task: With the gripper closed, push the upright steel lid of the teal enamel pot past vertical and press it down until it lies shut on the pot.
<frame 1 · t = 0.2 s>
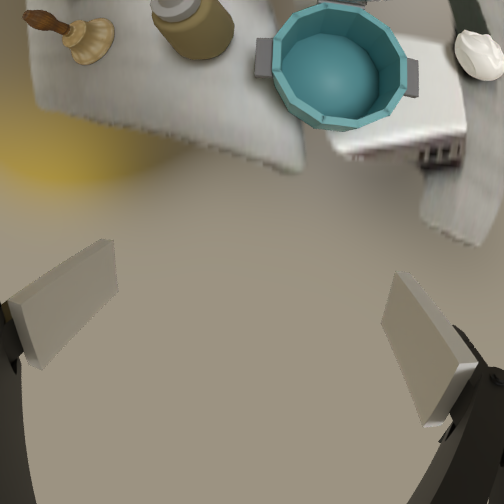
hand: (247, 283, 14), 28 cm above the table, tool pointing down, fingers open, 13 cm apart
white swirled ball: (466, 60, 30), on the table
pot: (330, 78, 34), on the table
hand bell: (93, 41, 35), on the table
squeeze bottle: (209, 40, 34), on the table
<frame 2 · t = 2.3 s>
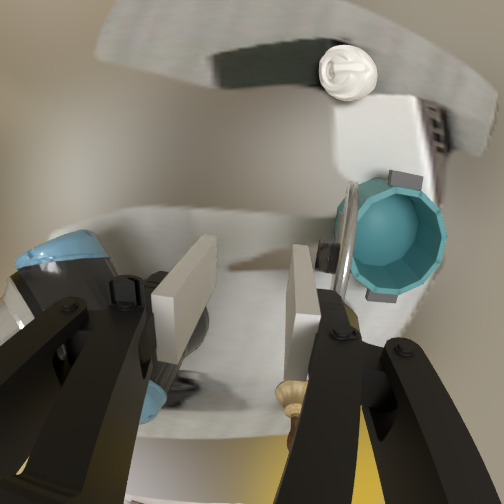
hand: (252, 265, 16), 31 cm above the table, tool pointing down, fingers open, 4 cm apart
white swirled ball: (343, 79, 38), on the table
pot: (379, 225, 44), on the table
hand bell: (296, 391, 57), on the table
lid: (331, 256, 30), point 17 cm above the table, hinge at 100.0°
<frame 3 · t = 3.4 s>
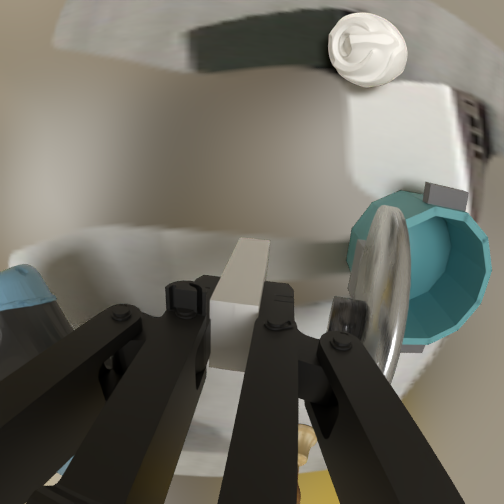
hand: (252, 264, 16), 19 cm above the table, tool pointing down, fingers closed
white swirled ball: (359, 60, 27), on the table
pot: (403, 251, 34), on the table
hand bell: (294, 436, 46), on the table
lid: (351, 320, 19), point 17 cm above the table, hinge at 100.0°
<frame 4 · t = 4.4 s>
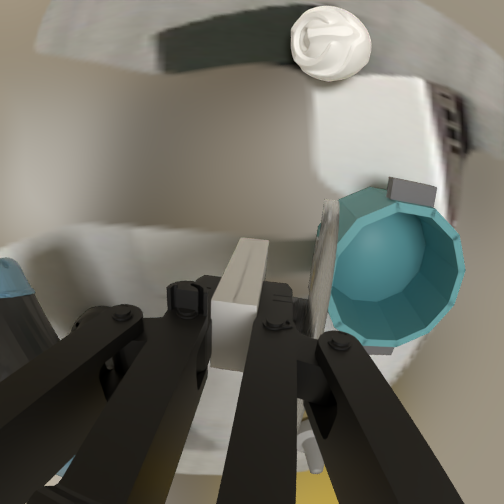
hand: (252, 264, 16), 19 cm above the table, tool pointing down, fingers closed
white swirled ball: (325, 54, 27), on the table
pot: (374, 249, 34), on the table
lid: (295, 319, 19), point 17 cm above the table, hinge at 98.4°, touching gripper
squeeze bottle: (309, 356, 40), on the table
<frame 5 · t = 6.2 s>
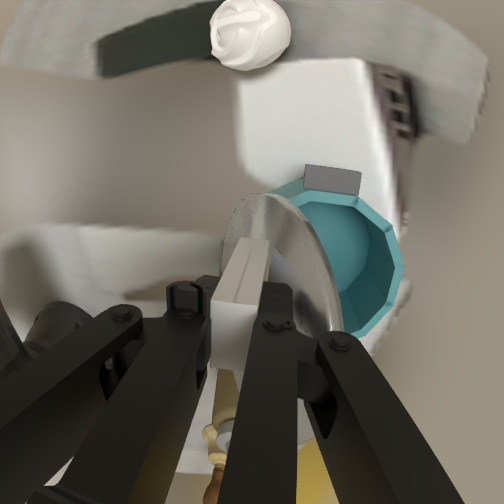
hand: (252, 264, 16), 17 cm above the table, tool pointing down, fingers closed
white swirled ball: (253, 44, 27), on the table
pot: (311, 244, 33), on the table
hand bell: (226, 436, 46), on the table
lid: (244, 322, 18), point 17 cm above the table, hinge at 63.7°, touching gripper
squeeze bottle: (253, 356, 39), on the table
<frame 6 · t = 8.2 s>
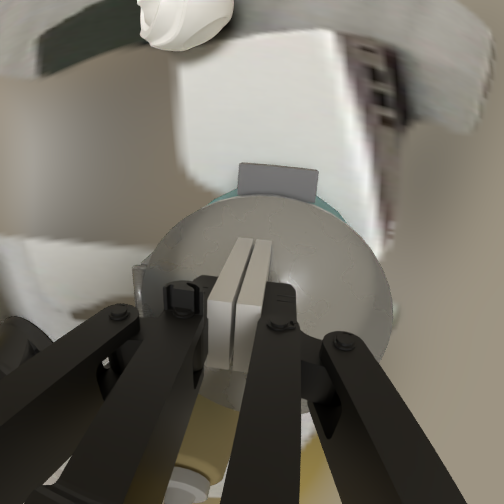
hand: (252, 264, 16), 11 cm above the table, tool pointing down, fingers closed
white swirled ball: (197, 22, 21), on the table
pot: (270, 262, 27), on the table
lid: (253, 334, 17), point 11 cm above the table, hinge at 4.5°, touching gripper
squeeze bottle: (212, 386, 33), on the table
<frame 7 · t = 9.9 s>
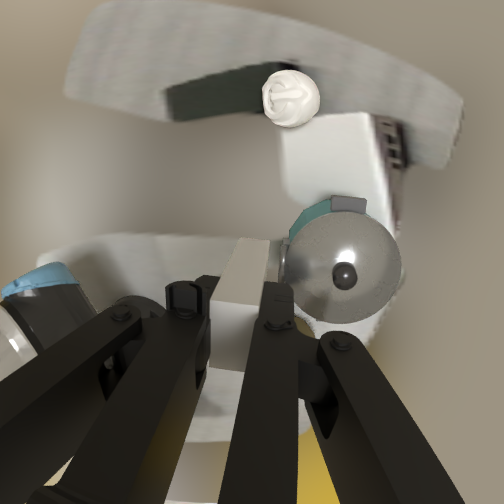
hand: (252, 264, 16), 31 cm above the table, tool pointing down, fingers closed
white swirled ball: (290, 102, 41), on the table
pot: (333, 245, 47), on the table
lid: (341, 273, 37), point 11 cm above the table, hinge at 4.3°
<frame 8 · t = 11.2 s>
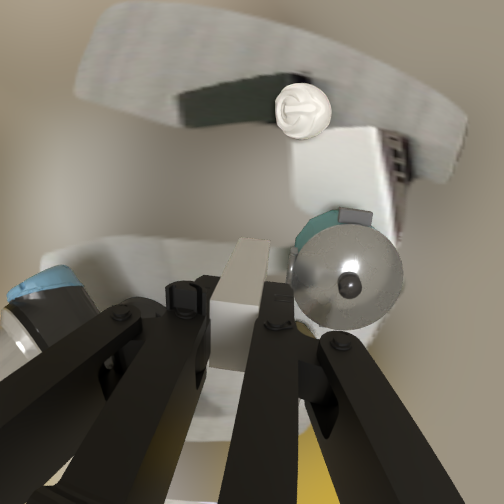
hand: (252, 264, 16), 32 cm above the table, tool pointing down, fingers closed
white swirled ball: (301, 114, 42), on the table
pot: (337, 254, 49), on the table
lid: (346, 283, 38), point 11 cm above the table, hinge at 4.3°
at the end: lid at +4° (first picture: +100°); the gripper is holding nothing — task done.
